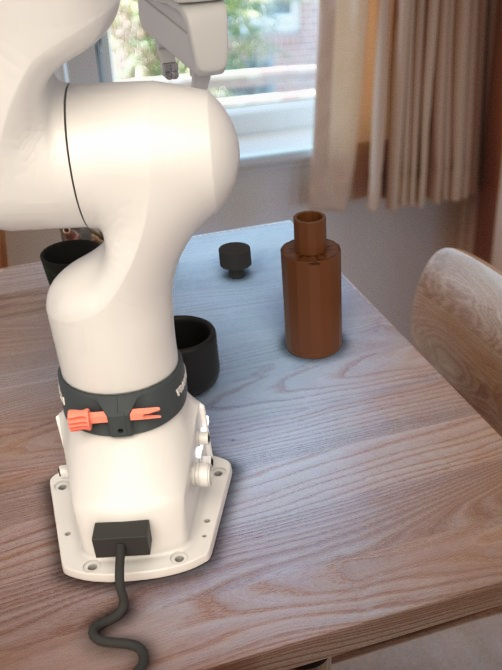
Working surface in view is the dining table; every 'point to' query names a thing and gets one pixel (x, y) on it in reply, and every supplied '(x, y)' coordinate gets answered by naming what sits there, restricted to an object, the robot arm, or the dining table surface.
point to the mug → (197, 351)
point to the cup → (64, 255)
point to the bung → (235, 258)
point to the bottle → (312, 289)
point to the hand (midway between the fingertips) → (184, 90)
